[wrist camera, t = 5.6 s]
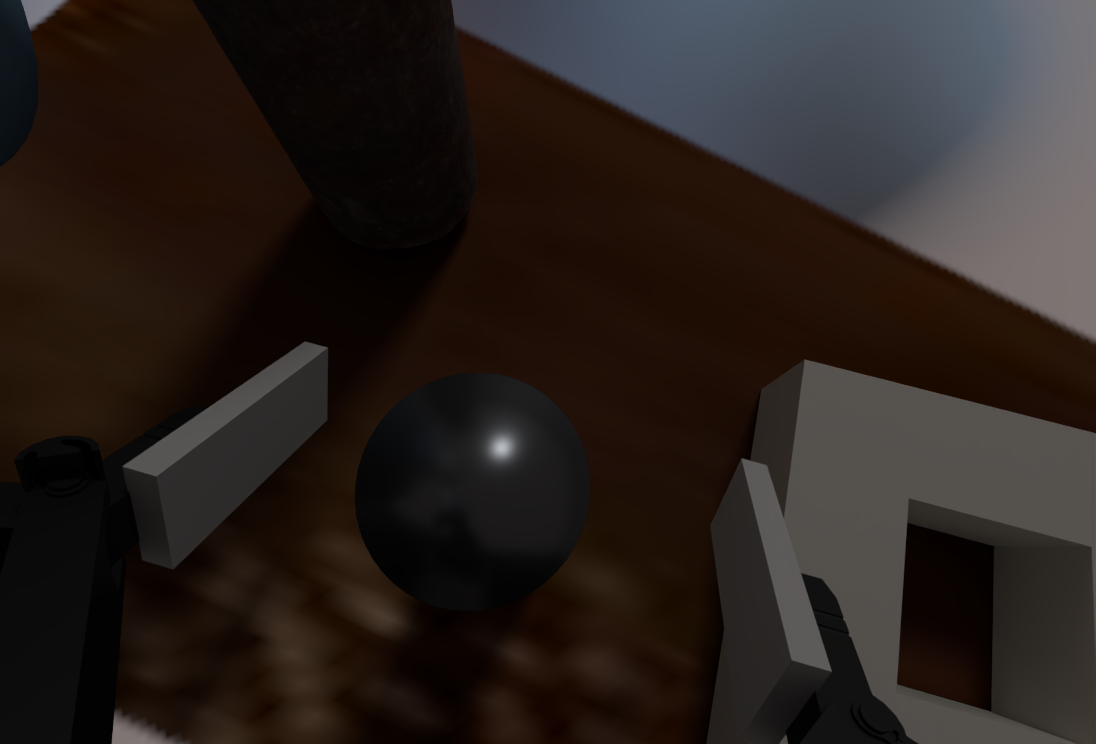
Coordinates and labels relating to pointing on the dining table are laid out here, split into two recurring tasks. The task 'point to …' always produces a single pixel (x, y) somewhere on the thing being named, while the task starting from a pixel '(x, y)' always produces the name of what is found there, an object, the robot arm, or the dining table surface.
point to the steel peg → (472, 491)
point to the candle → (361, 107)
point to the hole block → (950, 507)
